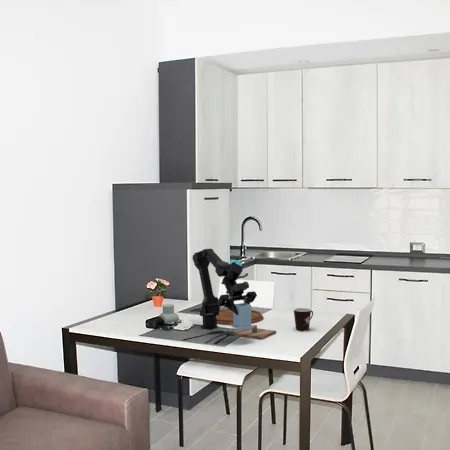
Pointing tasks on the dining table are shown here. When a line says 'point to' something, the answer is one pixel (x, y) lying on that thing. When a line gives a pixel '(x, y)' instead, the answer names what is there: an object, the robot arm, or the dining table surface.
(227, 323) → the cutting board
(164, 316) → the air freshener
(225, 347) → the dining table surface
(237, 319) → the light blue square holder
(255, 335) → the locating plate
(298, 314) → the coffee mug
